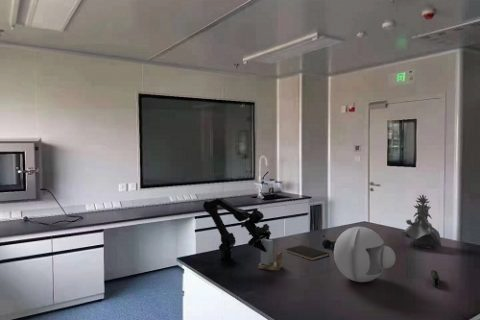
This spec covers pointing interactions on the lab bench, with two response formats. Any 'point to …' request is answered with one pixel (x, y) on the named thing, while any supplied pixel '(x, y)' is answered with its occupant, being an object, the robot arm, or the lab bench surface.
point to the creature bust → (422, 227)
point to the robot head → (362, 254)
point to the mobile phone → (435, 278)
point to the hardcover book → (307, 252)
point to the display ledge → (274, 265)
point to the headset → (328, 244)
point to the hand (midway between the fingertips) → (268, 250)
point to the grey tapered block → (267, 252)
